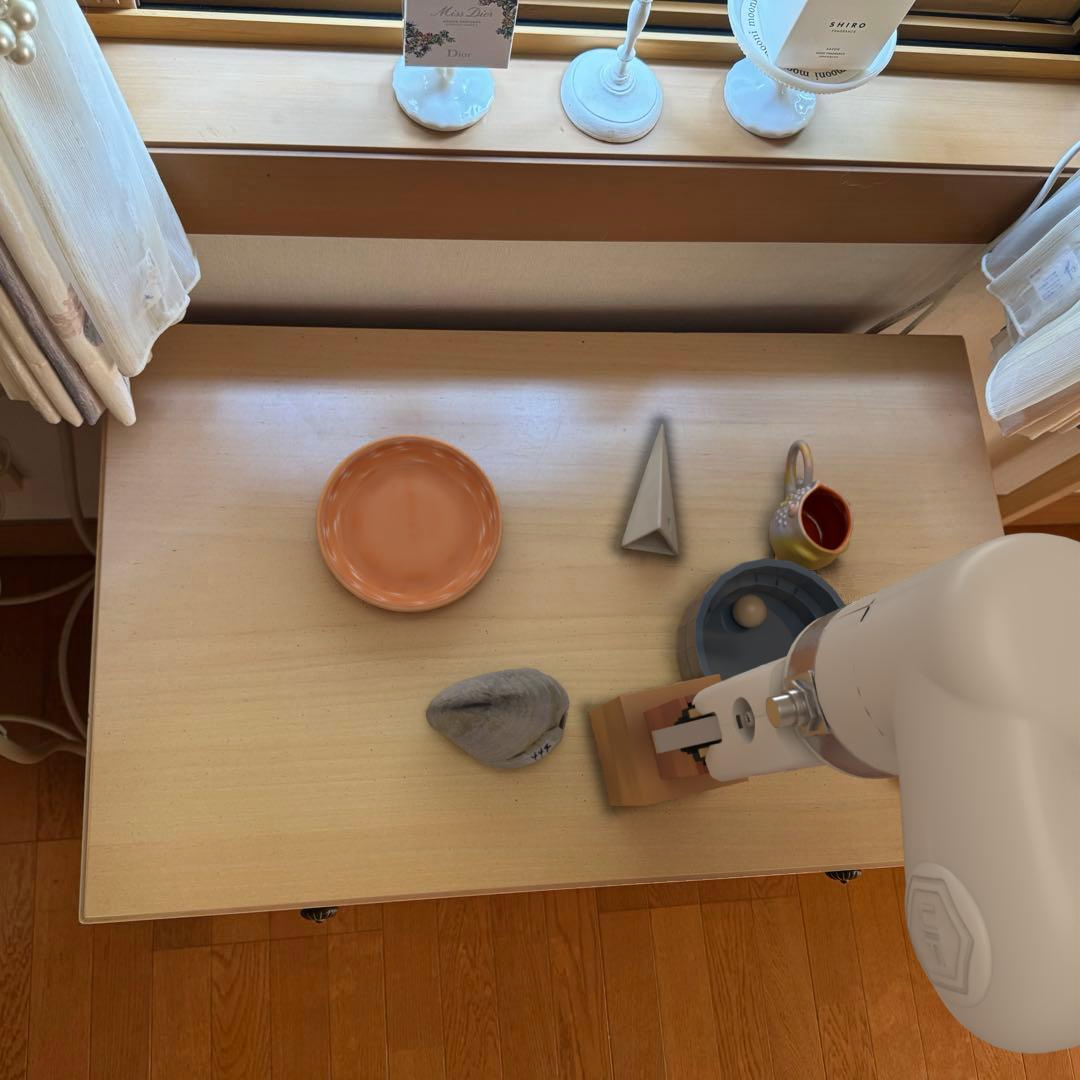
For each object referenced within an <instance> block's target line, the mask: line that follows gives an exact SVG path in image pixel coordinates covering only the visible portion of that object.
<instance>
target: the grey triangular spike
mask: <svg viewBox="0 0 1080 1080" xmlns="http://www.w3.org/2000/svg"><path fill="white" fill-rule="evenodd" d="M642 475H643V476H642V478H641V481H640V484H639V488H638V491H637V494H636V497H635V499H634V501H633V502H634V503H633V505H632V508H631V512H630V514H629V518H628V520H627V524H626V527H625V531H624V534H623V537H622V540H621V546H620V547H621V548H623V549H626V550H631V551H632V550H633V551H637V552H638V551H639V552H646V553H650V554H659V555H663V556H672V557H678V556H679V543H678V534H677V524H676V517H675V515H676V514H675V508H674V500H673V491H672V481H671V473H670V466H669V457H668V448H667V440H666V433H665V426H664V423H663V422H661V424H660V425H659V428H658V431H657V434H656V437H655V440H654V442H653V445H652V449H651V451H650V455H649V457H648V460H647V464H646V467H645V470H644V472H643V474H642Z"/></svg>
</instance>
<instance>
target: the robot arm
mask: <svg viewBox="0 0 1080 1080" xmlns="http://www.w3.org/2000/svg"><path fill="white" fill-rule="evenodd" d="M845 605H846V606H844V607H842V608H840V609H837V610H835V611H833V612H831V613H829V614H827V615H825V616H823V617H821V618H819V619H817V620H815V621H813V622H812V623H811V624H809V625H808V626H807V627H806V628H805V629H804V630H803V631H802V632H801V633H800V634H799V635H798V637H797V638H796V640H795V641H794V643H793V644H792V646H791V648H790V650H789V652H788V655H787V656H786V657H783V658H781V659H778V660H775V661H773V662H770V663H767V664H765V665H761V666H759V667H757V668H754V669H751V670H749V671H746V672H744V673H741V674H739V675H736V676H734V677H731V678H729V679H726V680H724V681H721V682H719V683H716V684H714V685H712V686H710V687H707V688H705V689H703V690H701V691H700V692H699V693H698V694H697V695H696V696H695V698H694V700H693V702H692V705H694V706H692V707H689V708H686V709H683V710H682V717H680V718H678V721H675V723H673V724H674V726H671V727H668V728H664V729H660V730H656V731H652V736H653V740H654V744H655V748H656V752H657V754H658V753H663V752H667V751H671V750H676V749H680V751H681V752H684V753H685V752H687V755H689V754H692V756H693V759H694V761H695V762H698V761H704V760H705V761H706V764H707V767H708V770H709V773H710V775H711V777H713V778H714V779H716V780H718V781H721V782H723V781H729V780H734V779H740V778H746V777H748V778H751V777H759V776H764V775H765V776H766V775H773V774H779V773H787V772H792V771H799V770H800V771H801V770H805V769H811V768H819V767H823V766H826V767H828V768H830V769H832V770H834V771H836V772H838V773H840V774H843V775H846V776H849V777H851V778H857V779H861V780H883V779H897V778H898V783H899V785H898V786H899V797H900V798H899V799H900V801H899V802H900V815H901V816H900V818H901V820H900V821H901V835H902V837H901V838H902V852H903V853H902V854H903V869H904V878H905V891H904V892H905V893H904V915H905V923H906V927H907V931H908V935H909V939H910V943H911V946H912V948H913V951H914V954H915V956H916V958H917V960H918V963H919V964H920V966H921V969H922V970H923V972H924V973H925V975H926V977H927V978H928V980H929V982H930V983H931V984H932V986H933V989H934V990H935V992H936V993H937V996H938V997H939V998H940V1000H941V1002H942V1003H943V1004H944V1006H945V1008H946V1009H947V1010H948V1011H949V1012H950V1014H951V1015H952V1016H953V1017H954V1018H955V1020H956V1021H957V1022H958V1023H959V1024H960V1025H961V1026H963V1027H964V1028H965V1029H966V1030H967V1031H968V1032H970V1033H971V1034H972V1035H973V1036H974V1037H976V1038H977V1039H980V1040H981V1041H983V1042H985V1043H987V1044H989V1045H991V1046H993V1047H996V1048H998V1049H1001V1050H1005V1051H1008V1052H1011V1053H1018V1054H1032V1055H1034V1054H1035V1055H1036V1054H1047V1053H1053V1052H1057V1051H1063V1050H1067V1049H1073V1048H1076V1047H1079V1046H1080V541H1078V540H1075V539H1073V538H1072V539H1071V538H1070V537H1066V536H1061V535H1055V534H1050V533H1043V532H1020V533H1019V532H1018V533H1014V534H1013V533H1012V534H1006V535H1002V536H998V537H996V538H995V537H994V538H993V539H992V538H991V539H989V540H987V541H984V542H981V543H979V544H976V545H974V546H972V547H968V548H967V549H965V550H962V551H961V552H959V553H957V554H954V555H952V556H950V557H948V558H946V559H944V560H941V561H939V562H937V563H935V564H933V565H931V566H928V567H926V568H924V569H922V570H920V571H918V572H916V573H913V574H911V575H909V576H907V577H905V578H902V579H901V580H898V581H896V582H894V583H892V584H890V585H888V586H885V587H884V588H881V589H879V590H877V591H874V592H872V593H870V594H868V595H866V596H864V597H861V598H859V599H858V600H855V601H853V602H851V603H848V604H845Z"/></svg>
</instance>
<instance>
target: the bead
mask: <svg viewBox="0 0 1080 1080" xmlns="http://www.w3.org/2000/svg"><path fill="white" fill-rule="evenodd" d="M766 615H767V608H766V605H765V603H764V601H763V600H762V599H761V598H760V597H758V596H756V595H753V594H746V595H743V596H741V597H739V598H738V599H737V600H736V601H735V603H734V605H733V616H734V619H735V620H736V622H737V623H738V624H740V625H741V626H743V627H746V628H754V627H757V626H759V625H760V624H761V623H762V622H763V621H764V620H765V618H766Z"/></svg>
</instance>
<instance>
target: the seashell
mask: <svg viewBox="0 0 1080 1080" xmlns="http://www.w3.org/2000/svg"><path fill="white" fill-rule="evenodd" d="M569 708H570V699H569V695H568V693H567V690H566V689H565V688H564V686H562V684H561V683H560V682H559V681H558V680H557V679H555V678H554V677H552V676H550V675H547V674H545V673H543V672H541V671H540V670H538V669H536V668H530V667H524V668H523V667H522V668H515V669H505V670H500V671H494V672H493V671H492V672H489V673H483V674H479V675H475V676H472V677H468V678H465V679H462V680H460V681H458V682H455V683H454V684H452V685H450V686H448V687H446V688H444V689H443V690H441V691H440V692H439V693H437V695H435V697H433V698H432V699H431V701H430V702H429V704H428V706H427V708H426V711H425V718H426V721H427V723H428V724H429V726H430V728H432V729H433V730H434V731H436V732H437V733H439V734H441V736H443V737H444V738H447V740H449V741H450V742H452V743H453V744H455V745H456V746H457V747H459V748H461V749H462V750H463V751H465V752H466V753H467V754H468V755H470V756H471V757H472V758H473V759H474V760H477V761H478V762H479V763H480V764H481V765H484V766H487V767H491V768H494V769H502V770H514V769H520V768H521V769H522V768H524V767H527V766H530V765H533V764H535V763H536V762H538V761H540V760H541V759H543V758H544V757H546V756H547V755H548V754H550V753H551V752H552V751H553V750H554V748H555V747H556V746H557V745H559V744H560V743H561V742H562V739H563V737H564V732H565V728H566V723H567V719H568V711H569Z"/></svg>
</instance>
